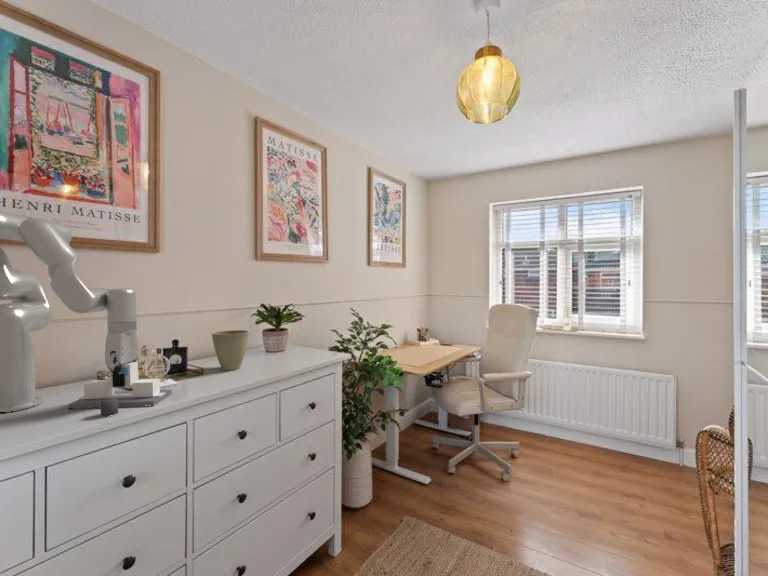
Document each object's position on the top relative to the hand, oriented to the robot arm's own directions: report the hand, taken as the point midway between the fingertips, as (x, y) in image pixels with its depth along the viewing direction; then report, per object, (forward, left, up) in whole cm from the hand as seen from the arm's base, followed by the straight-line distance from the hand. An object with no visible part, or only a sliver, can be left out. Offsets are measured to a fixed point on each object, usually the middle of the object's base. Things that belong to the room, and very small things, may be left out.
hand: (123, 383), depth 117 cm
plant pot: (+21, +41, -6) cm, 46 cm away
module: (0, 0, -1) cm, 1 cm away
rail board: (0, 0, -6) cm, 6 cm away
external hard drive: (+2, +15, -6) cm, 17 cm away
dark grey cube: (+3, -12, -6) cm, 14 cm away
